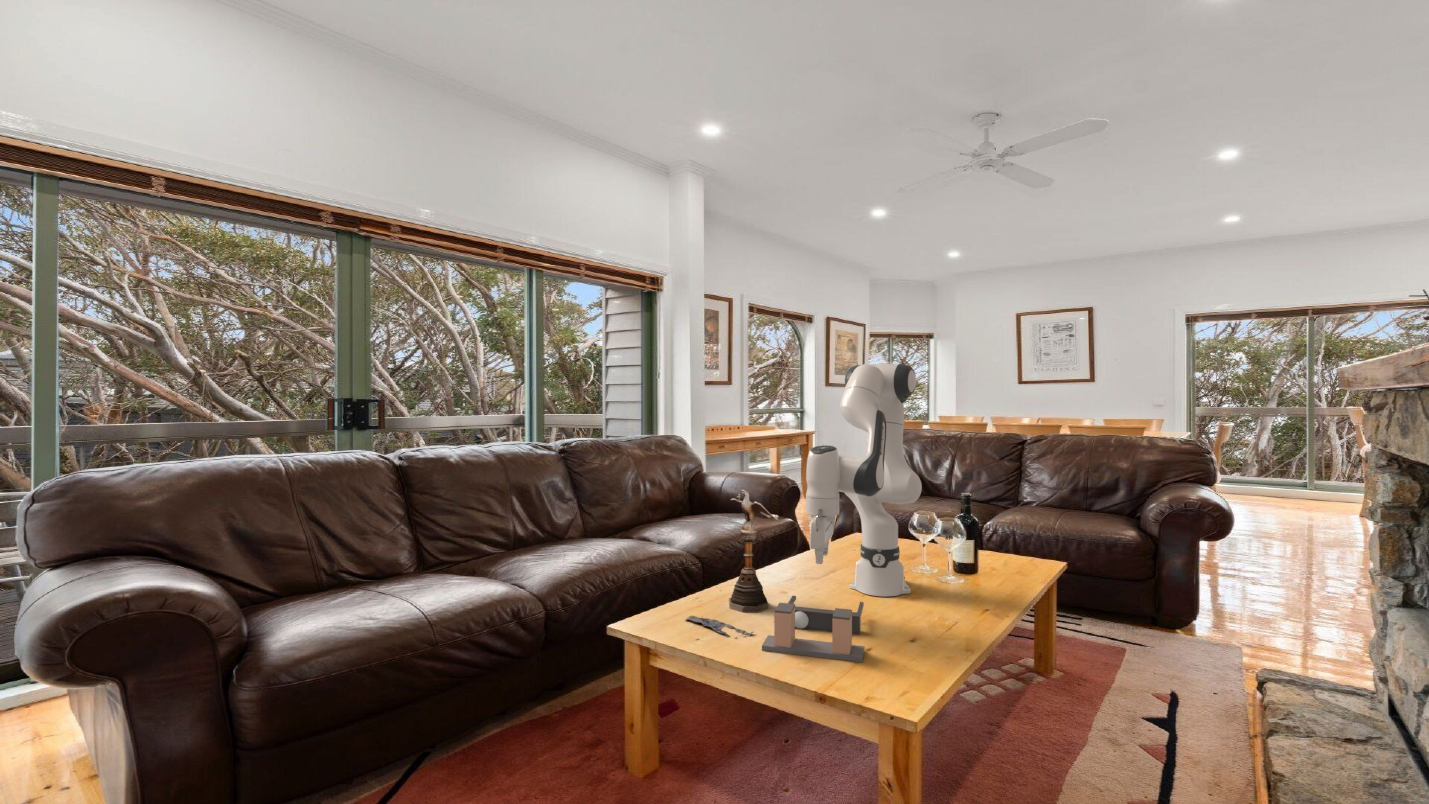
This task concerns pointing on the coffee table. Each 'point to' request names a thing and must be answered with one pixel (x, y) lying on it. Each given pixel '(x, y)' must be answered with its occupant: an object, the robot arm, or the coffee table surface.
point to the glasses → (822, 618)
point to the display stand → (832, 650)
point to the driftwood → (717, 625)
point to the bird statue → (749, 560)
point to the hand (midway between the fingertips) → (822, 559)
